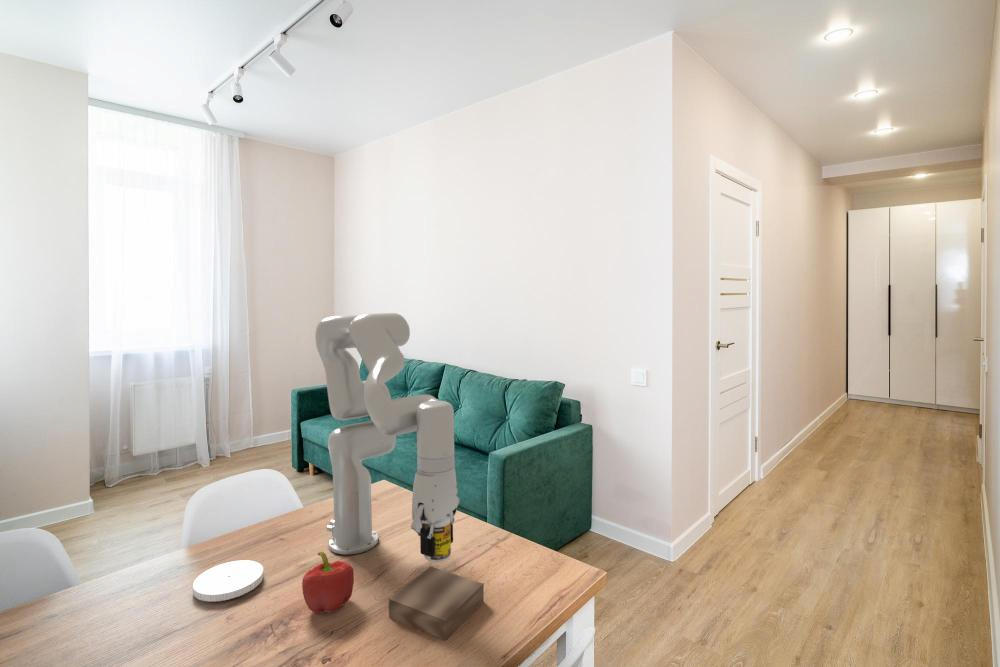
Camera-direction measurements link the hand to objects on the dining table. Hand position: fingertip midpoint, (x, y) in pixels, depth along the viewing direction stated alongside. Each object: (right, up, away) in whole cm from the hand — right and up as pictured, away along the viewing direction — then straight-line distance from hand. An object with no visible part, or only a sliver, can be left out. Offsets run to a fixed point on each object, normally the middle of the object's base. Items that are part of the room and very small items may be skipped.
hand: (437, 547), depth 105 cm
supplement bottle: (0, -2, 0) cm, 2 cm away
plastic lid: (-48, -13, +10) cm, 51 cm away
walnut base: (0, -13, +1) cm, 14 cm away
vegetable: (-23, -14, +3) cm, 27 cm away
